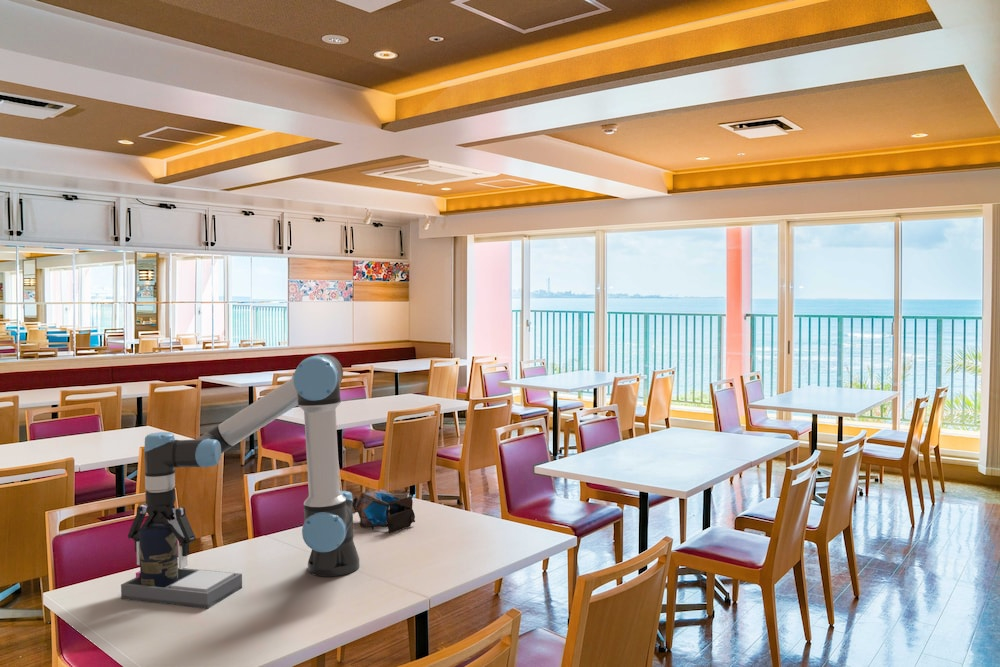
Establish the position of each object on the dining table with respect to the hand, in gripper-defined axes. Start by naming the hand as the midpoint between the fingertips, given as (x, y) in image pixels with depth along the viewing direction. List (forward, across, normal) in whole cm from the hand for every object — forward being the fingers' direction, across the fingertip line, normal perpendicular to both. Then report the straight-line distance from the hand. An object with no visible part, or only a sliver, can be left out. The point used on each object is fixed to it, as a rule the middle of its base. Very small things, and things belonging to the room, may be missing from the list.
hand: (162, 565), depth 204 cm
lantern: (+7, -32, -73) cm, 80 cm away
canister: (+6, +1, 0) cm, 6 cm away
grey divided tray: (+7, -6, 0) cm, 10 cm away
